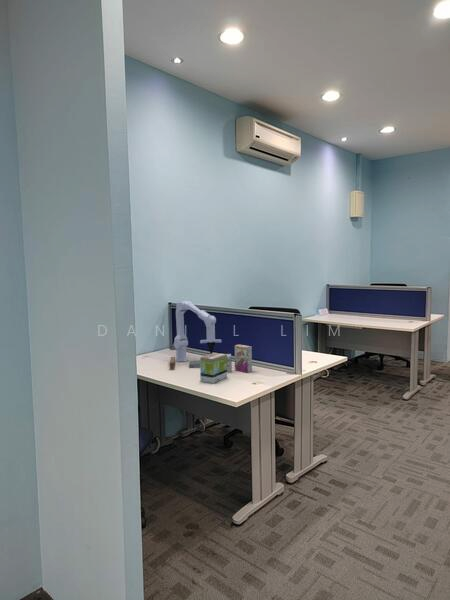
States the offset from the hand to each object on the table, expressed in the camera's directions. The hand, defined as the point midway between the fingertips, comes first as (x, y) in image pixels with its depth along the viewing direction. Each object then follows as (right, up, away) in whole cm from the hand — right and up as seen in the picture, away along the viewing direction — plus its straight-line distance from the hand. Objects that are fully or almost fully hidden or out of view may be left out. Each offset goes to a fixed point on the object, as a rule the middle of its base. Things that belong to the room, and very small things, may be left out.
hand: (211, 353), depth 268 cm
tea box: (+3, -12, -33) cm, 35 cm away
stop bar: (-26, -9, -1) cm, 28 cm away
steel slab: (-10, -9, 0) cm, 13 cm away
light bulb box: (+8, -10, -15) cm, 20 cm away
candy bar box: (+21, -10, -15) cm, 28 cm away
